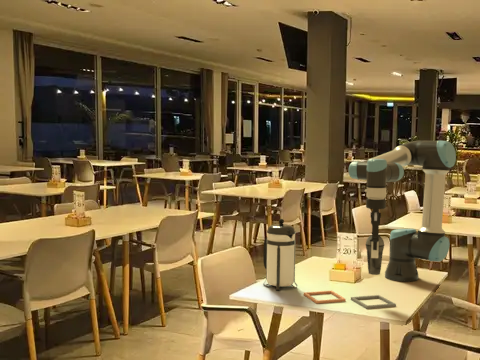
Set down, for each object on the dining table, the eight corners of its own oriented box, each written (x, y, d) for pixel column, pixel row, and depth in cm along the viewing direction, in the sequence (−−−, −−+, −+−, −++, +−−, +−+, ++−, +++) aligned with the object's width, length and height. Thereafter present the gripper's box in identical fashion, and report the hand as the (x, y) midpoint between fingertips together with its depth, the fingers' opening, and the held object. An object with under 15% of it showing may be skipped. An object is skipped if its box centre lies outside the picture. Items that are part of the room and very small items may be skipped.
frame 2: (378, 297, 231) (378, 295, 231) (395, 306, 219) (395, 303, 219) (350, 299, 228) (350, 297, 228) (366, 308, 216) (366, 306, 215)
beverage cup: (386, 275, 220) (387, 224, 218) (368, 275, 219) (369, 225, 217) (380, 271, 227) (381, 221, 225) (362, 271, 226) (363, 222, 225)
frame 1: (331, 292, 237) (331, 290, 237) (345, 301, 225) (345, 298, 225) (303, 294, 234) (303, 292, 234) (316, 303, 222) (316, 301, 221)
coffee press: (300, 283, 252) (302, 217, 250) (293, 292, 237) (294, 222, 235) (263, 280, 257) (264, 215, 255) (253, 288, 242) (254, 219, 240)
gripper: (366, 195, 231) (365, 250, 233) (365, 200, 211) (364, 260, 213) (385, 195, 229) (384, 251, 231) (386, 201, 210) (384, 261, 212)
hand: (374, 255), depth 222 cm, fingers closed on beverage cup, 7 cm apart
